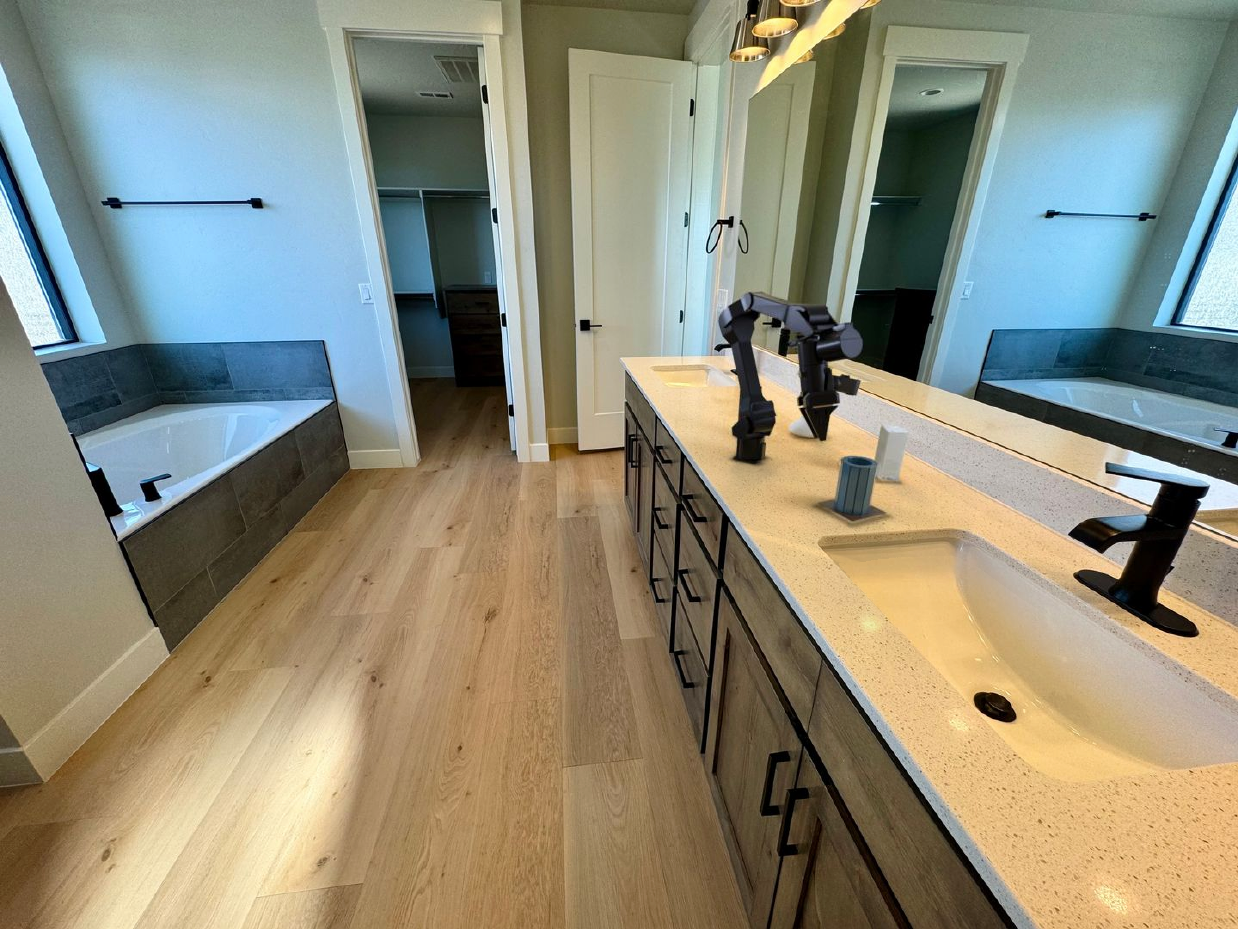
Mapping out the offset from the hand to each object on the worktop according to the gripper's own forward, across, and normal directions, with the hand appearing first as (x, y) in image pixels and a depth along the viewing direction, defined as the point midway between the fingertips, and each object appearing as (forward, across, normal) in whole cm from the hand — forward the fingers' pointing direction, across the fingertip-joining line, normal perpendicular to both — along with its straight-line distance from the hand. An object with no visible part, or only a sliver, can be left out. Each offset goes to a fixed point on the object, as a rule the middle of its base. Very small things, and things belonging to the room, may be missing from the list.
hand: (819, 439), depth 105 cm
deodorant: (+1, +38, +15) cm, 41 cm away
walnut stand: (+15, -6, -4) cm, 16 cm away
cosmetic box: (+12, +14, -15) cm, 24 cm away
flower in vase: (+3, +43, -2) cm, 43 cm away
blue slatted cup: (+14, -6, -4) cm, 16 cm away
